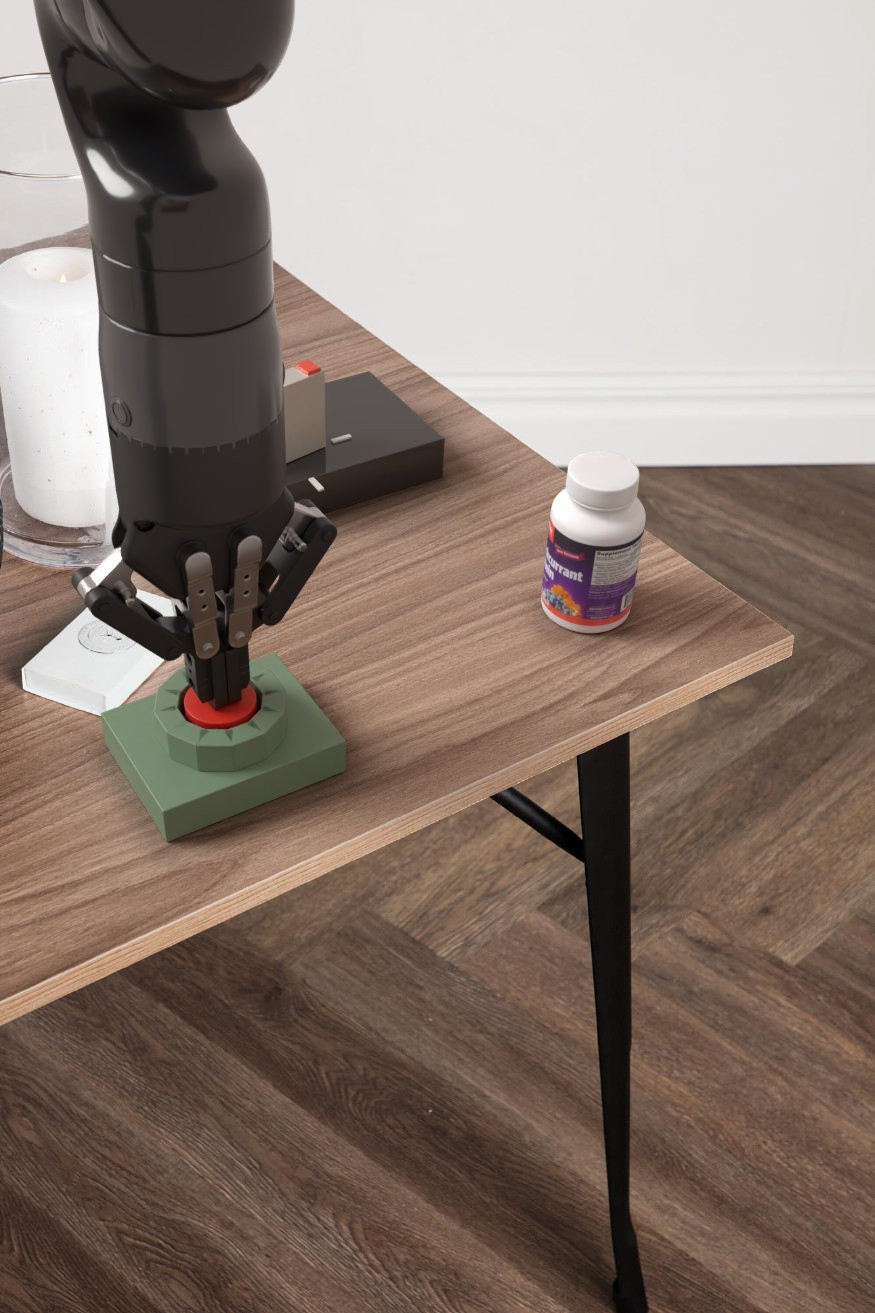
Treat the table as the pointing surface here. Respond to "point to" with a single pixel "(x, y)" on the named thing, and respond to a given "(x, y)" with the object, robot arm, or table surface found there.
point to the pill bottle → (594, 544)
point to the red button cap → (220, 711)
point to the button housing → (222, 750)
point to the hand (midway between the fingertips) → (219, 696)
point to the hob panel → (365, 447)
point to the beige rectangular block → (304, 409)
